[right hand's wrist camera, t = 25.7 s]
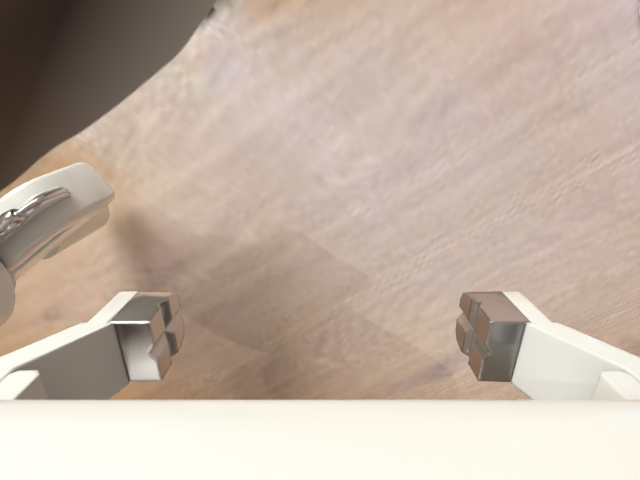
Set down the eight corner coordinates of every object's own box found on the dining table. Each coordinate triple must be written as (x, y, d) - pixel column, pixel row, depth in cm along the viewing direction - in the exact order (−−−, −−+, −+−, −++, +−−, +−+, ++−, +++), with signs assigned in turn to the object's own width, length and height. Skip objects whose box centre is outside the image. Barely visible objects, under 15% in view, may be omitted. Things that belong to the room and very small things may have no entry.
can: (88, 236, 41) (35, 268, 33) (56, 202, 39) (-7, 228, 32) (118, 215, 40) (71, 242, 32) (86, 179, 38) (29, 200, 31)
